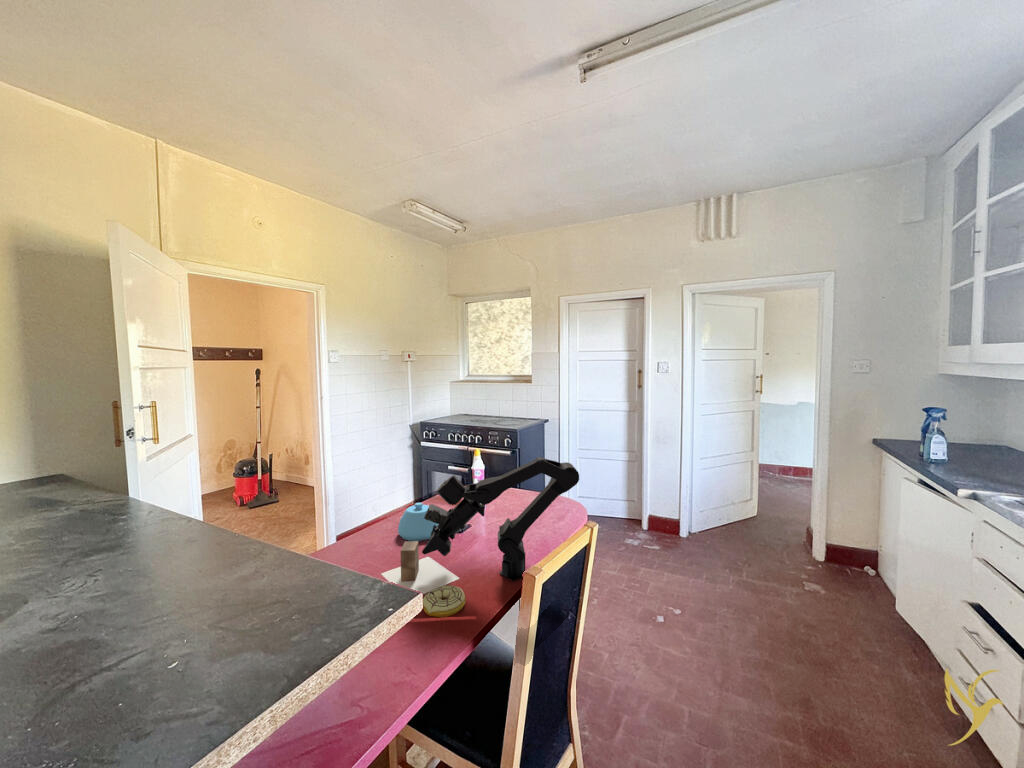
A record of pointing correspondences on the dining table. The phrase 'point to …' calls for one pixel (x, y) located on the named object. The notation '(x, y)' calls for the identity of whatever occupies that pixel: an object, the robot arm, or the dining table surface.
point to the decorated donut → (444, 601)
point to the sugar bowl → (415, 523)
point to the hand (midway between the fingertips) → (423, 552)
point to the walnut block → (409, 561)
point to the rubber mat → (423, 576)
